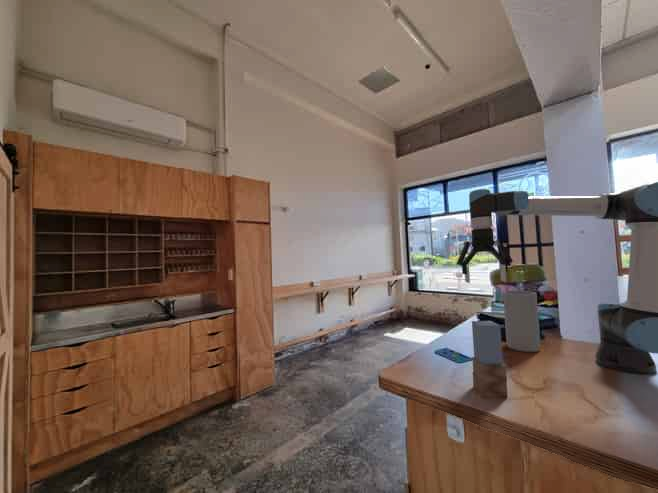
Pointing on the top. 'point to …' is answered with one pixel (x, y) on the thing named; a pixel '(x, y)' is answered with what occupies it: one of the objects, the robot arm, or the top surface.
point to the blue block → (487, 342)
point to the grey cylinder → (521, 320)
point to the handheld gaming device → (453, 355)
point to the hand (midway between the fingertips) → (485, 281)
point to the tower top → (490, 371)
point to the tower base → (490, 388)
